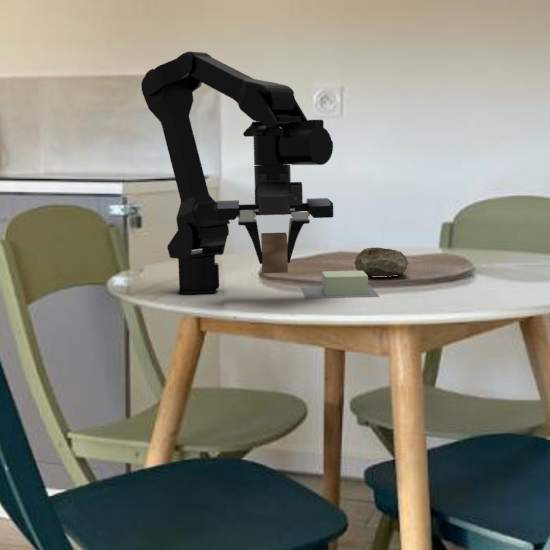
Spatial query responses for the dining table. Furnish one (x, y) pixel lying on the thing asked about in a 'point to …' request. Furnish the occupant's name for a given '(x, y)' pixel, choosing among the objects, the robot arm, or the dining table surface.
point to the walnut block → (274, 253)
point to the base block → (345, 282)
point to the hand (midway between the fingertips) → (274, 263)
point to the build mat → (319, 293)
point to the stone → (381, 262)
